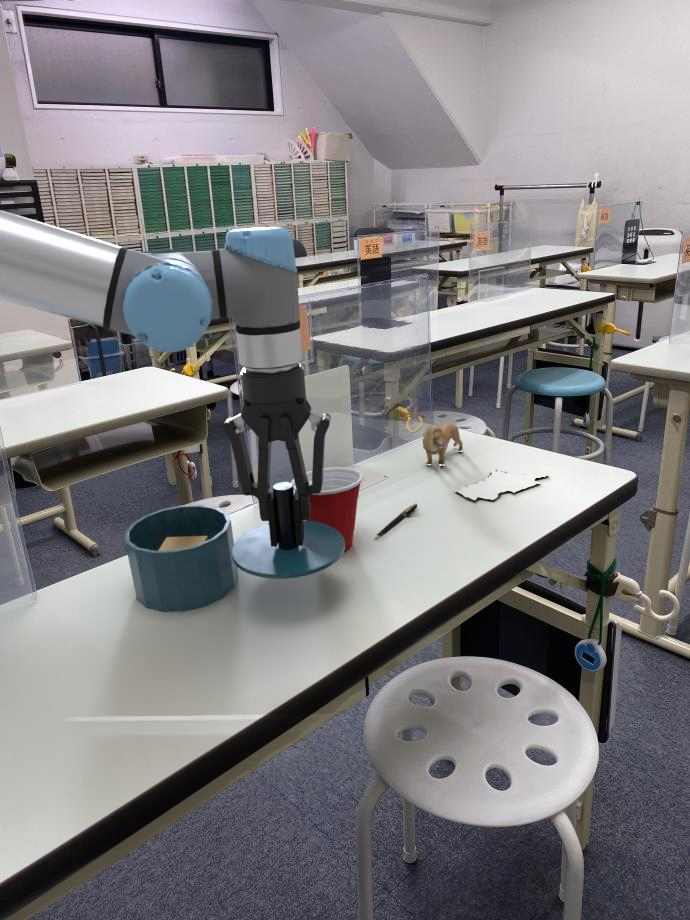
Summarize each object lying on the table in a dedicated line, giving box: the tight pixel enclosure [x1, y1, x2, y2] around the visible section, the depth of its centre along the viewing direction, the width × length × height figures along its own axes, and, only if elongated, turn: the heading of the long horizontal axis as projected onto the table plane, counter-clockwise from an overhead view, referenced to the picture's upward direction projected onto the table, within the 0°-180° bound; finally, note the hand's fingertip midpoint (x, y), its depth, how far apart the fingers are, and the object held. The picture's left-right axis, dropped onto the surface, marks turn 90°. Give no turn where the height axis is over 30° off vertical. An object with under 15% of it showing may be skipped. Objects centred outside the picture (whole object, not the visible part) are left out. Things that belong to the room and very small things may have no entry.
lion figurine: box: [422, 422, 464, 465], centre depth 135 cm, size 15×5×9 cm, turn 154°
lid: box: [232, 481, 345, 580], centre depth 88 cm, size 15×15×10 cm
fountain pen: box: [373, 502, 418, 541], centre depth 111 cm, size 14×1×2 cm, turn 146°
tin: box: [123, 504, 239, 613], centre depth 96 cm, size 14×14×10 cm
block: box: [158, 536, 208, 551], centre depth 96 cm, size 6×6×6 cm
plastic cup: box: [290, 466, 364, 554], centre depth 103 cm, size 11×11×12 cm
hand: (288, 540), depth 89 cm, fingers closed on lid, 3 cm apart
